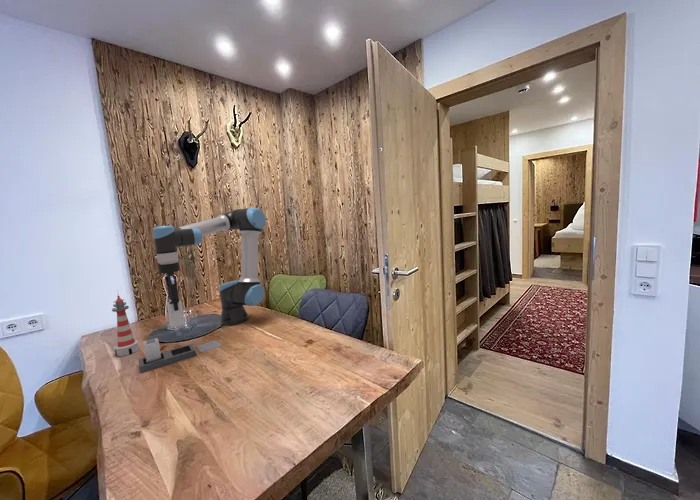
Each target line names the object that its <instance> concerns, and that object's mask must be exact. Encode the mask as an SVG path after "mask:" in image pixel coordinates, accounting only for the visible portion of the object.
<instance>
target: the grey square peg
mask: <svg viewBox="0 0 700 500" xmlns="http://www.w3.org/2000/svg"><path fill="white" fill-rule="evenodd" d="M171 302H172V301H171V300H169V301H166V305H167V306H166V307H167V313H168V320H169V321H168V322H169V325H170V327H171V328H176V327H180V326H183V325H186V322H185V315H184V308H183V302H182V300H181V299H179V306H180V313H181V317H179V318H175V319H174V318H173V312H172V305H171V304H170V303H171Z"/></svg>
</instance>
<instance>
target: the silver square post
mask: <svg viewBox="0 0 700 500" xmlns="http://www.w3.org/2000/svg"><path fill="white" fill-rule="evenodd" d="M143 349H144V354H145V357H146V362H147V364H148V363H152V362H155V361H158V360H161V353H162V352H161V347H160V341H159V338H158V337H156V338H151V339H148V340H145V341H143Z"/></svg>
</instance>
